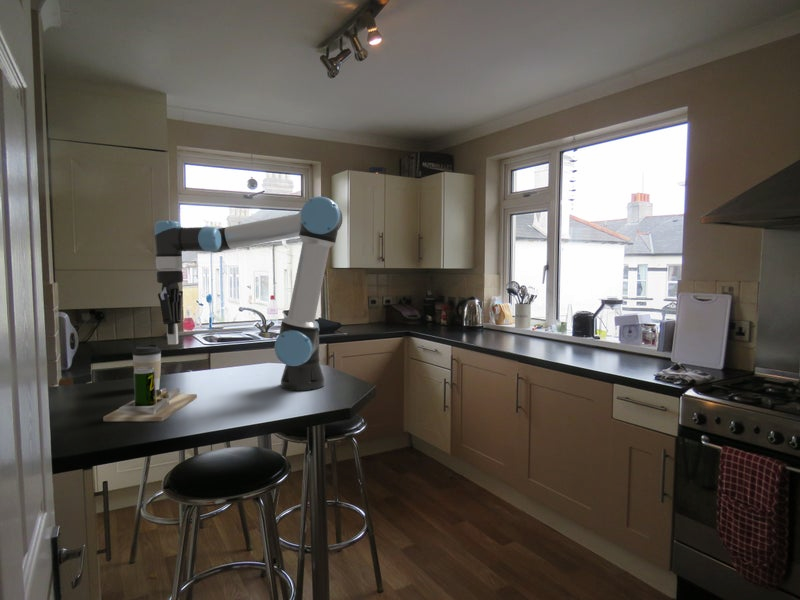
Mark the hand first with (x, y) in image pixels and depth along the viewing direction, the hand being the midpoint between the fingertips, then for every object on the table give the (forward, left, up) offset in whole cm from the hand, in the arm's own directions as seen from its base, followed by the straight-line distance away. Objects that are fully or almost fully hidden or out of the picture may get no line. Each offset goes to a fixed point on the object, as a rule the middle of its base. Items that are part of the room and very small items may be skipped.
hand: (173, 343), depth 162 cm
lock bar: (0, +11, -16) cm, 19 cm away
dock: (0, +13, -17) cm, 22 cm away
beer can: (0, +18, -16) cm, 24 cm away
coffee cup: (+13, -10, -18) cm, 24 cm away
